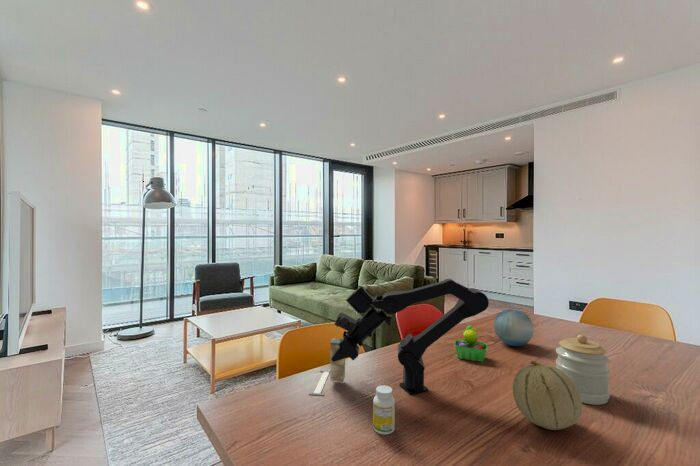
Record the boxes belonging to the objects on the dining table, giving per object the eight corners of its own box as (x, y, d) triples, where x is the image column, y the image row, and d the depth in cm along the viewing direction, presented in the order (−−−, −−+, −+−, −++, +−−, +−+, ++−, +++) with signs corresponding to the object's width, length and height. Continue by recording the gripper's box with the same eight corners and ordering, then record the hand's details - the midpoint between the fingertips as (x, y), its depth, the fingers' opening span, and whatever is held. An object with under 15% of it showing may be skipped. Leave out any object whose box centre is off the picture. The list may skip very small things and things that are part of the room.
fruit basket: (454, 359, 120) (454, 329, 120) (455, 350, 128) (456, 322, 128) (487, 364, 116) (487, 333, 116) (486, 355, 124) (486, 326, 124)
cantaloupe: (584, 452, 70) (584, 384, 70) (509, 430, 78) (509, 368, 77) (579, 418, 82) (579, 360, 82) (514, 402, 90) (515, 349, 90)
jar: (594, 410, 86) (595, 345, 86) (546, 389, 98) (546, 331, 97) (618, 399, 92) (619, 337, 92) (570, 380, 104) (570, 325, 103)
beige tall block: (345, 376, 103) (345, 338, 102) (343, 382, 99) (343, 343, 98) (332, 375, 103) (332, 338, 103) (330, 381, 99) (330, 342, 99)
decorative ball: (534, 343, 137) (534, 308, 137) (532, 354, 125) (532, 316, 125) (496, 336, 145) (496, 304, 145) (491, 347, 133) (491, 310, 133)
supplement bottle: (387, 438, 74) (387, 397, 74) (368, 429, 78) (368, 389, 78) (399, 427, 78) (399, 388, 78) (381, 419, 82) (381, 381, 82)
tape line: (320, 370, 110) (320, 370, 110) (333, 371, 109) (333, 371, 109) (308, 394, 94) (308, 394, 94) (323, 395, 93) (323, 395, 93)
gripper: (353, 298, 109) (322, 329, 111) (346, 312, 91) (308, 349, 92) (376, 322, 108) (344, 353, 110) (374, 341, 90) (335, 378, 91)
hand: (333, 357), depth 101 cm, fingers closed on beige tall block, 4 cm apart
